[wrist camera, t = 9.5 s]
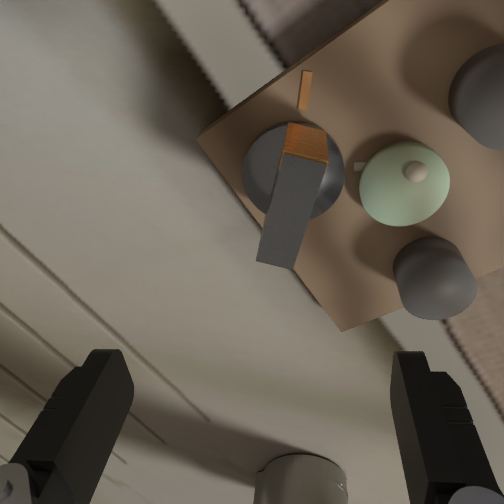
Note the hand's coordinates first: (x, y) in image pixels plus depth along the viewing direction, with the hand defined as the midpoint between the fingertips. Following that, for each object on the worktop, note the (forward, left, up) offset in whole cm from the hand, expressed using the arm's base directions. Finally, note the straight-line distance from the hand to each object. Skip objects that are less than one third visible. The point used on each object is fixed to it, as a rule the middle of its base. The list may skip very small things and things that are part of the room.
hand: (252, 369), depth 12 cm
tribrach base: (+6, -4, -18) cm, 19 cm away
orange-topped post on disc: (+1, 0, -16) cm, 16 cm away
